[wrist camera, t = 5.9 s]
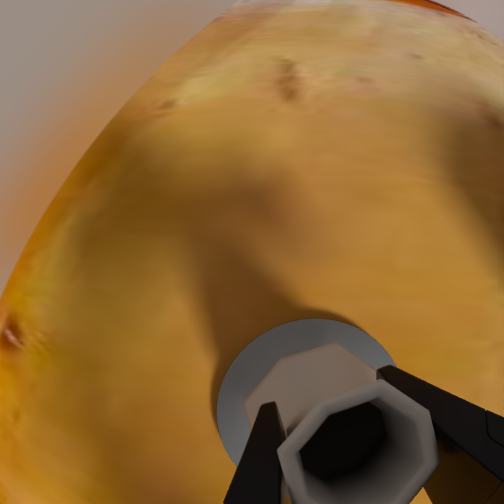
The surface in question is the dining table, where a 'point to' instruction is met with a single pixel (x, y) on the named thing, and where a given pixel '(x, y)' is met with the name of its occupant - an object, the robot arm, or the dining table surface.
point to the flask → (346, 430)
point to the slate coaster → (265, 357)
